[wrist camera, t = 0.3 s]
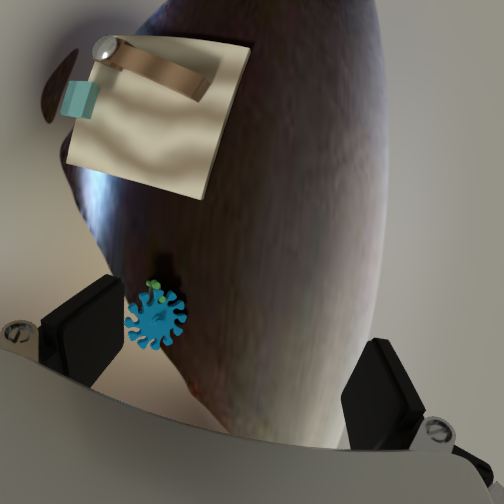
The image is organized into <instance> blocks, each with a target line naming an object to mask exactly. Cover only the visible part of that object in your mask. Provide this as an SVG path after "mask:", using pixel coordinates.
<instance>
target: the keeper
mask: <svg viewBox="0 0 504 504" xmlns="http://www.w3.org/2000/svg"><path fill="white" fill-rule="evenodd" d="M97 85H98V84H97V83H95V82H89V81H87V82H86V81H70V82H69V85H68V88H67V91H66V95H65V98H64V101H63V105H62V109H61V112H60V115H67V116H72V117H77V118H83V119H90V120H91V116H92V113H93V109H94V106H95V102H96V99H97V96H98V93H99V90H100V89H98V88H97Z"/></svg>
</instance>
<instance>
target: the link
mask: <svg viewBox="0 0 504 504" xmlns="http://www.w3.org/2000/svg"><path fill="white" fill-rule="evenodd" d="M115 38H117V37H115ZM117 40H118V47H117V49H116V51H115V53H114V54H113V55H112V56H111V57H110V58H108V59H106V60H103V61H99V60H97V59H95V58H94V57H93V56H92V58H91V59H93V60H95V61H97V62H99V63H101V64H103V65H106V66H108V67H111V68H113V69H116V70H118V71H120V72H122V70H123V68H124V69H126V70H129V71H131V72H133V73H136V74H138V75H140V76H143V77H145V78H147V79H149V80H152V81H154V82H156V83H158V84H161V85H163V86H165V87H167V88H169V89H171V90H173V91H175V92H177V93H180V94H182V95H184V96H186V97H188V98H190V99H192V100H194V101H196V102H198V103H199V102H200V100H201V98H202V97H203V95H204V94H205V92H206V91H207V89H208V88H209V86H210V85H211V84H210V83H209V82H208V80H207V79H206V78H205V77H204V76H202V75H200V74H198V73H196V72H193V71H191V70H189V69H187V68H184V67H182V66H180V65H177V64H175V63H173V62H170V61H168V60H165V59H163V58H160V57H158V56H155V55H153V54H150V53H147V52H145V51H142V50H139V49H137V48H135V47H134V46H133V45H131V44H130V43H129V42H127V41H126V40H123V39H120V38H117Z"/></svg>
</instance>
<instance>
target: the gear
mask: <svg viewBox="0 0 504 504" xmlns="http://www.w3.org/2000/svg"><path fill="white" fill-rule="evenodd" d="M146 284H147V285H148V286H149V295H148V294H147V293H146V292H143V293H141V294H139V298H140V299H141V301H142V304H143V306H142V311H141V312H138V307H137V305H136V304H135V303H131V304H130V305H129V307H128V310H129V311H130V312H131V313H134V314H136V315H137V316H138V321H137V322H133V321H132V319H131V318H130V317H126V319H125V323H124V324H125V326H126V327H128V328H130V327H137V328H140V330H139V332H134V331H129V332H128V336H129V338H130V340H131V341H134V340H136V339H137V338H138V337H141V336H146V338H145V339H141V340H138V342H137V343H138V345H139V346H140V347H141V348H142V349H145V348H146V346H147V344H148V342H149V341H151V340H152V339H154V338H156V339H155V340H154V341H153V342H152V343H151V344H150V347H151V348H152V349H154V350H159V348H160V345H159V343H160V340H161V338H162V337H163V336H164V335H165V338H164V339H163V342H164V343H165V345H170V344H172V343H173V341H172V339H171V338H170V329H171V328H173V332H174V333H175V334H176V335H177V336H178V335H180V334H181V333H182V331H183V330H182V329H181V328H180V327H179V326H176V325H175V324H174V320H175V319H176V318H178V320H179V321H180V322H182V323H184V322H185V321H186V318H187V316H186V315H185V314H183V313H180V314H175V313H173V310H174V309H175V308H178V309H179V310H183V309H184V302H183V301H181V300H178V301H177V302H176V303H174V304H172V305H167V303H168V301H171V300H175V299H176V298H177V296H176V295H175V294H174V293H173V292H172V291H171V290H170V291H168V293H167V295H166V297H164V296H163V294H164V291H162V290H161V287H160V283H158V282H157V281H156V280H152V281H151V282H150V281H147V282H146ZM147 301H148V304H147Z"/></svg>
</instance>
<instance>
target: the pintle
mask: <svg viewBox="0 0 504 504" xmlns="http://www.w3.org/2000/svg"><path fill="white" fill-rule="evenodd" d="M117 47H118V40H117V38H115V37H114V36H112V35H106V36H104V37H102V38H100V39H99V40H98V41H97V42H96V44H95V45H94V48H93V51H92V55H93V57H94V58H95V59H97V60H99V61H103V60H106V59H108V58H110V57H111V56H112V55H113V54H114V53H115V51H116V49H117Z"/></svg>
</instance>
